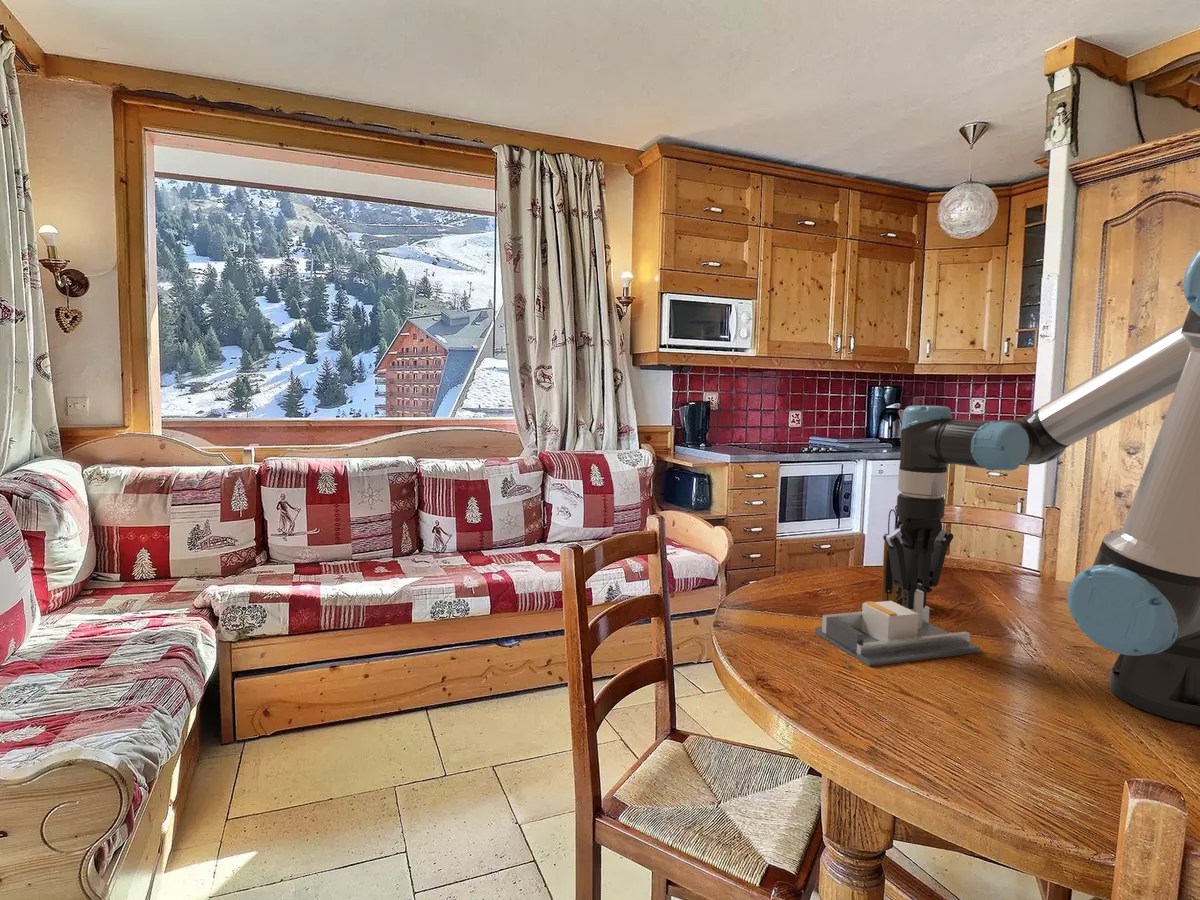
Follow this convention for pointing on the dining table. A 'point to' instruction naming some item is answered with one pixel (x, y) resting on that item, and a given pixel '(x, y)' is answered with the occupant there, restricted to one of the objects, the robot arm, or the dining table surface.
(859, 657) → the rail base
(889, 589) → the multimeter
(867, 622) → the block
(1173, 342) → the robot arm
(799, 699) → the dining table surface
